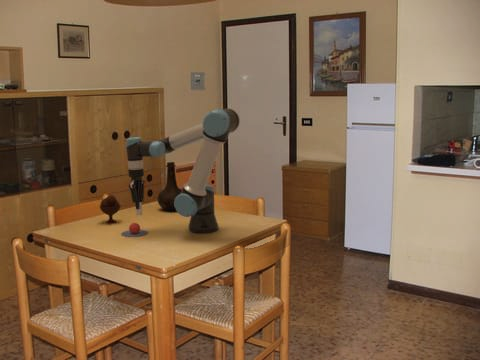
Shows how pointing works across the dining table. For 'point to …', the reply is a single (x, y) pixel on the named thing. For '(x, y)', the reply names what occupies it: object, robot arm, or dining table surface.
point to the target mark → (129, 234)
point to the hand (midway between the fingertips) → (139, 214)
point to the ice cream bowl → (110, 207)
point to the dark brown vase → (169, 189)
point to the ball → (134, 228)
